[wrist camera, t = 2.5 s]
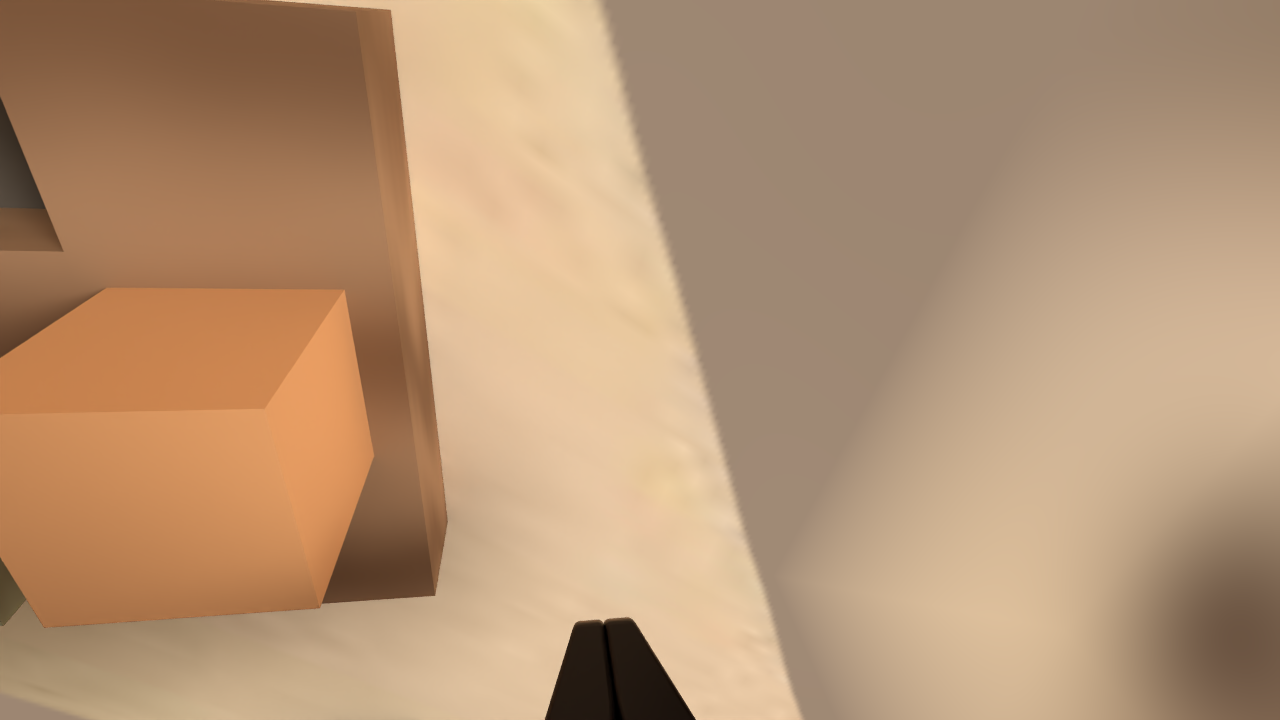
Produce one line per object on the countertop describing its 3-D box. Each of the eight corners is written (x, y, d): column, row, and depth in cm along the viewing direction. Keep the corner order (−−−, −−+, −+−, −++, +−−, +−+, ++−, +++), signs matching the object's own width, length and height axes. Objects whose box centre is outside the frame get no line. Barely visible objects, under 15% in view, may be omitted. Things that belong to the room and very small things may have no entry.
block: (374, 456, 15) (320, 608, 11) (173, 463, 15) (43, 627, 11) (343, 289, 13) (264, 409, 9) (106, 287, 12) (-88, 416, 8)
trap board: (447, 522, 21) (435, 595, 18) (-159, 553, 18) (-275, 645, 15) (390, 10, 13) (356, 11, 11) (-660, -74, 10) (-1047, -99, 8)
